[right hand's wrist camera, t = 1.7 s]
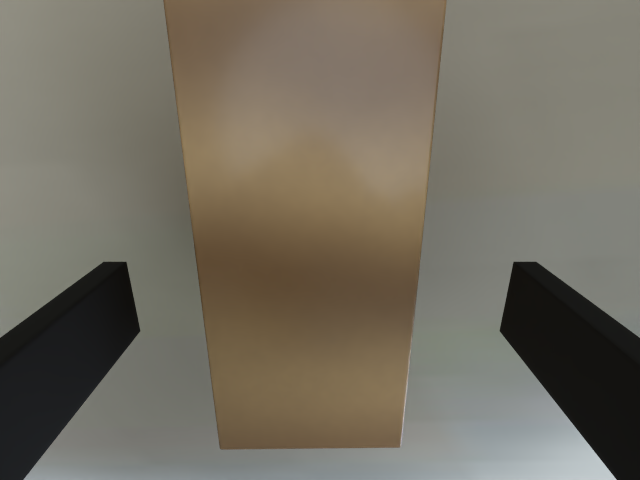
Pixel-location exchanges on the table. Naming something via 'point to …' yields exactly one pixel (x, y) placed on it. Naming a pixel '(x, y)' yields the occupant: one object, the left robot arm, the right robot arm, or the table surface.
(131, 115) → the table surface
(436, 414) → the table surface
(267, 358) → the box
